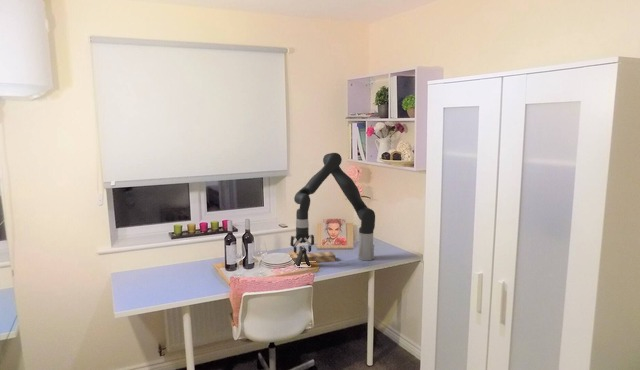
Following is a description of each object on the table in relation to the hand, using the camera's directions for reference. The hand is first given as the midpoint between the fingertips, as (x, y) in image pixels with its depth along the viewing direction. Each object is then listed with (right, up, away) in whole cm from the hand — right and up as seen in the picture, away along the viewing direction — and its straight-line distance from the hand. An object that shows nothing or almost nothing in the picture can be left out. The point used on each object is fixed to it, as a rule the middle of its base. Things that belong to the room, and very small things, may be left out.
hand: (302, 252), depth 270 cm
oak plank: (+6, -7, +13) cm, 16 cm away
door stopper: (0, -9, +1) cm, 9 cm away
